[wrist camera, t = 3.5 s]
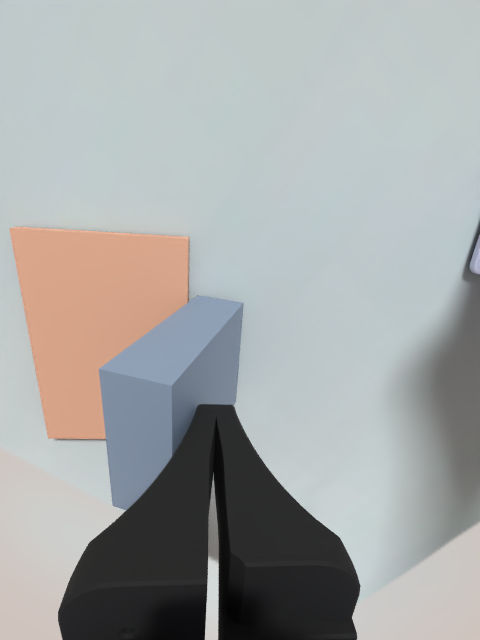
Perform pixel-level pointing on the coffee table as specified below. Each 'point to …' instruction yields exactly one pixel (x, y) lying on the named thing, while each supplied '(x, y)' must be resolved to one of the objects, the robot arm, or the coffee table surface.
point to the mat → (91, 310)
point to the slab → (166, 389)
